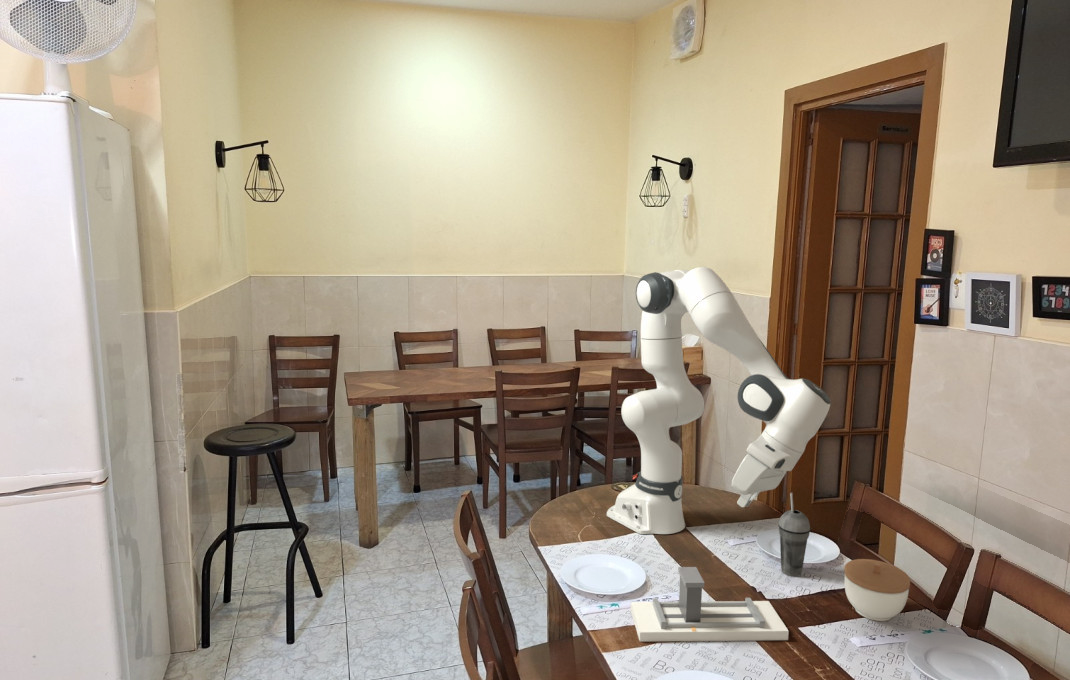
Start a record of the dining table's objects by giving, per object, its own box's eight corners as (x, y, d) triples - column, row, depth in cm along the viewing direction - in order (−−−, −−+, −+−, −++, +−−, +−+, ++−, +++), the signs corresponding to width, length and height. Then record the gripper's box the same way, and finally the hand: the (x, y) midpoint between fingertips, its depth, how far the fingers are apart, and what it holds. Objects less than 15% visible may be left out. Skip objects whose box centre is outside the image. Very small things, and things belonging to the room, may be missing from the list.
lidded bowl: (880, 635, 136) (885, 585, 134) (828, 604, 147) (832, 558, 145) (919, 619, 142) (924, 570, 140) (866, 590, 153) (870, 545, 151)
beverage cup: (810, 581, 157) (816, 500, 153) (777, 578, 158) (782, 498, 155) (804, 566, 164) (809, 489, 160) (773, 563, 165) (778, 486, 162)
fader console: (639, 641, 133) (640, 625, 133) (630, 610, 144) (631, 595, 144) (788, 640, 134) (789, 624, 134) (768, 609, 145) (768, 594, 144)
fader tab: (684, 623, 136) (685, 582, 134) (676, 606, 142) (678, 567, 140) (702, 623, 136) (704, 582, 134) (694, 606, 142) (696, 566, 140)
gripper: (779, 442, 150) (747, 492, 153) (746, 444, 134) (711, 499, 137) (804, 459, 146) (770, 510, 149) (773, 462, 130) (736, 519, 133)
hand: (742, 505), depth 143 cm, fingers closed
